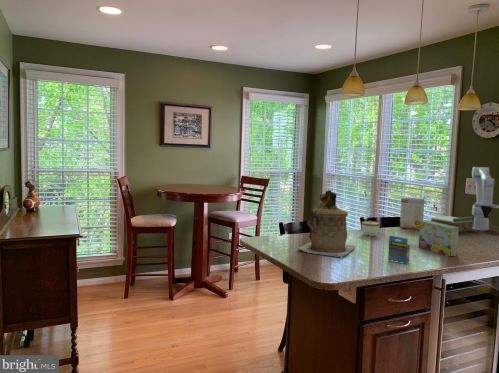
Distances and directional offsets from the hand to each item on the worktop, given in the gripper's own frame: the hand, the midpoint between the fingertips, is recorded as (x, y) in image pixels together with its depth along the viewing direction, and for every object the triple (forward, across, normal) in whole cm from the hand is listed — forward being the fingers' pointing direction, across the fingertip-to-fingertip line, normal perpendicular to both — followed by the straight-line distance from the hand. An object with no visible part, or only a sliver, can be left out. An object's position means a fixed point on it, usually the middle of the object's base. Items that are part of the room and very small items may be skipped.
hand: (486, 217), depth 256 cm
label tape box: (+12, +22, -107) cm, 110 cm away
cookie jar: (+12, -10, -124) cm, 124 cm away
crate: (+10, -19, -7) cm, 23 cm away
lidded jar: (+11, -28, -74) cm, 80 cm away
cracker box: (+11, -32, -31) cm, 46 cm away
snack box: (+12, +17, -72) cm, 75 cm away
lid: (+4, -19, -7) cm, 21 cm away
